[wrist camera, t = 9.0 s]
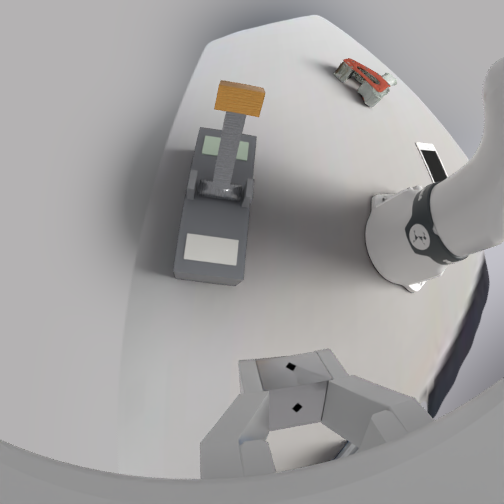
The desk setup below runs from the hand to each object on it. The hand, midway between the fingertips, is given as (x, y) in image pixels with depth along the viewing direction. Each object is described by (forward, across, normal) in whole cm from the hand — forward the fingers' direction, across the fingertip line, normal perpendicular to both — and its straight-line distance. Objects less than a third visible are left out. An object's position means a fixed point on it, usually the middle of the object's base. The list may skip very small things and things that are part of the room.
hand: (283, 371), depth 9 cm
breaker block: (+33, +2, -2) cm, 33 cm away
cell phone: (+44, -50, -9) cm, 67 cm away
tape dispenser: (+52, -36, -30) cm, 70 cm away
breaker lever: (+26, +1, -5) cm, 27 cm away
